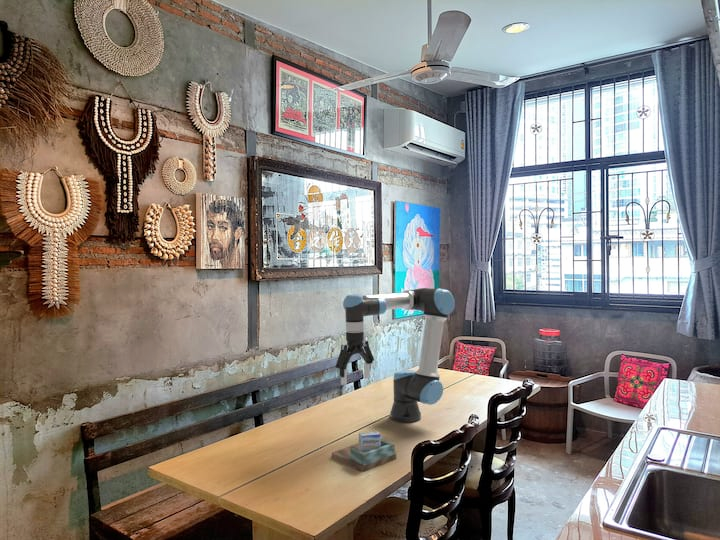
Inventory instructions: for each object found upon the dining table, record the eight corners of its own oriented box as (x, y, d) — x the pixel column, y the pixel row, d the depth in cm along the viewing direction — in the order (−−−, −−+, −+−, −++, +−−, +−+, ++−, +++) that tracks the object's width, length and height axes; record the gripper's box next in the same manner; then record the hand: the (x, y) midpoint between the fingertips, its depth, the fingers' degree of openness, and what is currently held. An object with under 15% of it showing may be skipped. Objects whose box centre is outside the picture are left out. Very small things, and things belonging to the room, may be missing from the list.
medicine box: (361, 458, 192) (361, 436, 192) (358, 454, 196) (358, 432, 196) (381, 456, 194) (381, 434, 194) (377, 452, 198) (377, 430, 198)
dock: (365, 445, 210) (365, 431, 210) (396, 458, 197) (396, 443, 197) (331, 457, 198) (331, 442, 198) (362, 471, 185) (362, 455, 185)
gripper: (369, 327, 223) (370, 374, 223) (326, 334, 205) (327, 385, 206) (381, 328, 217) (382, 377, 218) (338, 336, 200) (339, 389, 201)
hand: (355, 381), depth 212 cm, fingers open, 13 cm apart
